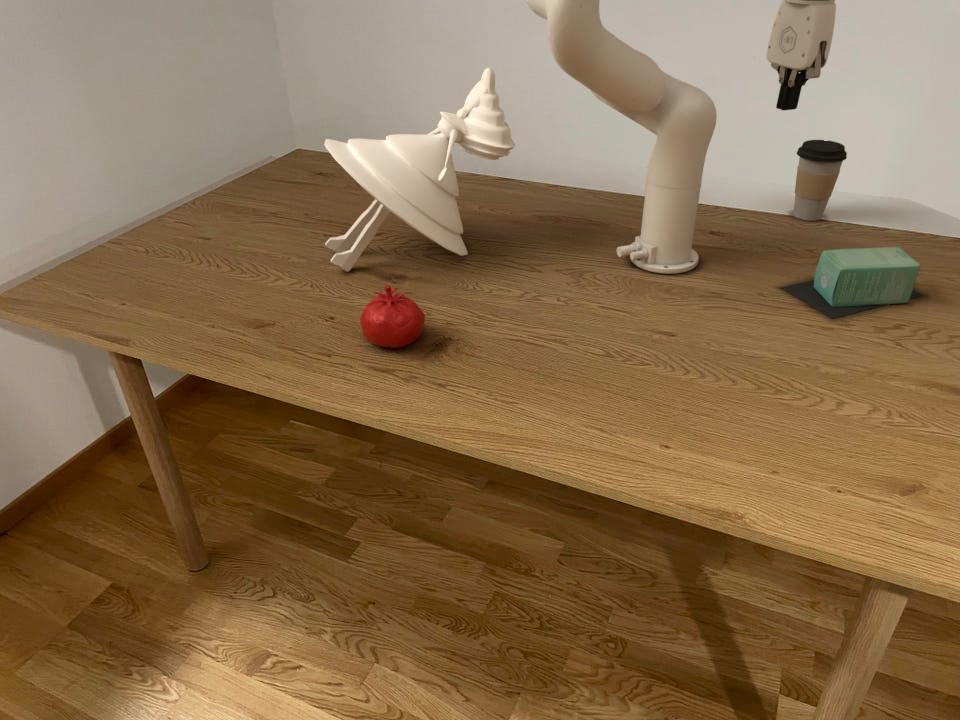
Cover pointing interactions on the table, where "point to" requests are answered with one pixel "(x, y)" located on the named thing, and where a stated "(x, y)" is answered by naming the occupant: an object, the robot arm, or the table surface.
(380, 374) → the table surface
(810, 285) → the mat
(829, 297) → the box
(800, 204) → the coffee cup
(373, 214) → the figurine
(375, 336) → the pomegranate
